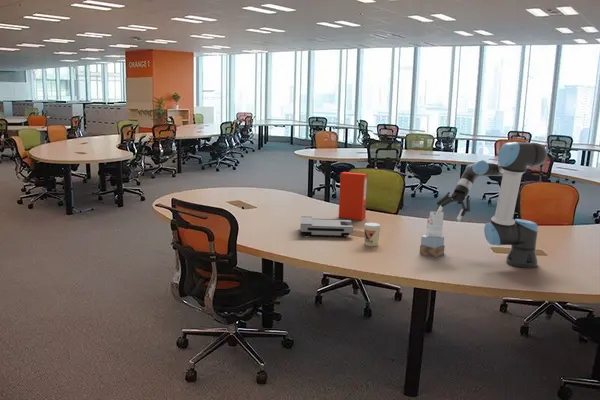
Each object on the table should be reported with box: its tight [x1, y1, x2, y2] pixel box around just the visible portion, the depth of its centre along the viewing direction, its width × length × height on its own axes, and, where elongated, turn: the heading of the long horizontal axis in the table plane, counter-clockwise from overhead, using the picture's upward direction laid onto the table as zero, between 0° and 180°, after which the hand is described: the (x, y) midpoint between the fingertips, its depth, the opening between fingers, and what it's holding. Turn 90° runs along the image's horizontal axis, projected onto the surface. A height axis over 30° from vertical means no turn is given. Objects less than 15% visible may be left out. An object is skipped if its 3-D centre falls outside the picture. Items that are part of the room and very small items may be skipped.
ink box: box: [425, 210, 445, 237], centre depth 284 cm, size 4×8×15 cm, turn 91°
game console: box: [299, 216, 354, 239], centre depth 324 cm, size 21×32×8 cm, turn 89°
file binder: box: [338, 171, 368, 221], centre depth 365 cm, size 8×17×32 cm, turn 65°
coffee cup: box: [363, 222, 381, 247], centre depth 302 cm, size 9×9×12 cm
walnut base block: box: [419, 244, 446, 258], centre depth 287 cm, size 10×10×5 cm
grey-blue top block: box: [420, 234, 445, 248], centre depth 286 cm, size 9×9×5 cm
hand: (447, 218), depth 291 cm, fingers open, 13 cm apart
